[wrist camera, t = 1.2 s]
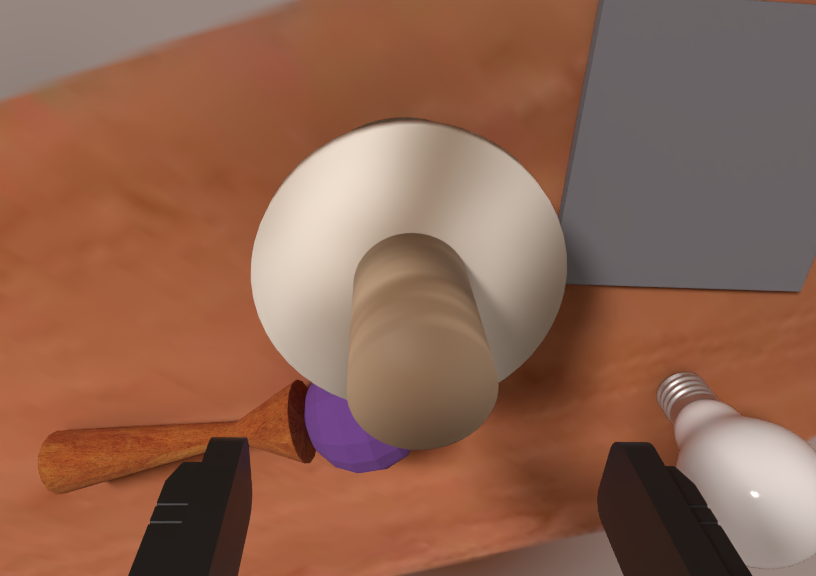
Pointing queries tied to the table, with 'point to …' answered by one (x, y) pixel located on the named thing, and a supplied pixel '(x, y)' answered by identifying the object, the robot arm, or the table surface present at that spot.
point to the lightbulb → (745, 473)
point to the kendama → (264, 427)
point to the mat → (695, 147)
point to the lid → (409, 276)
